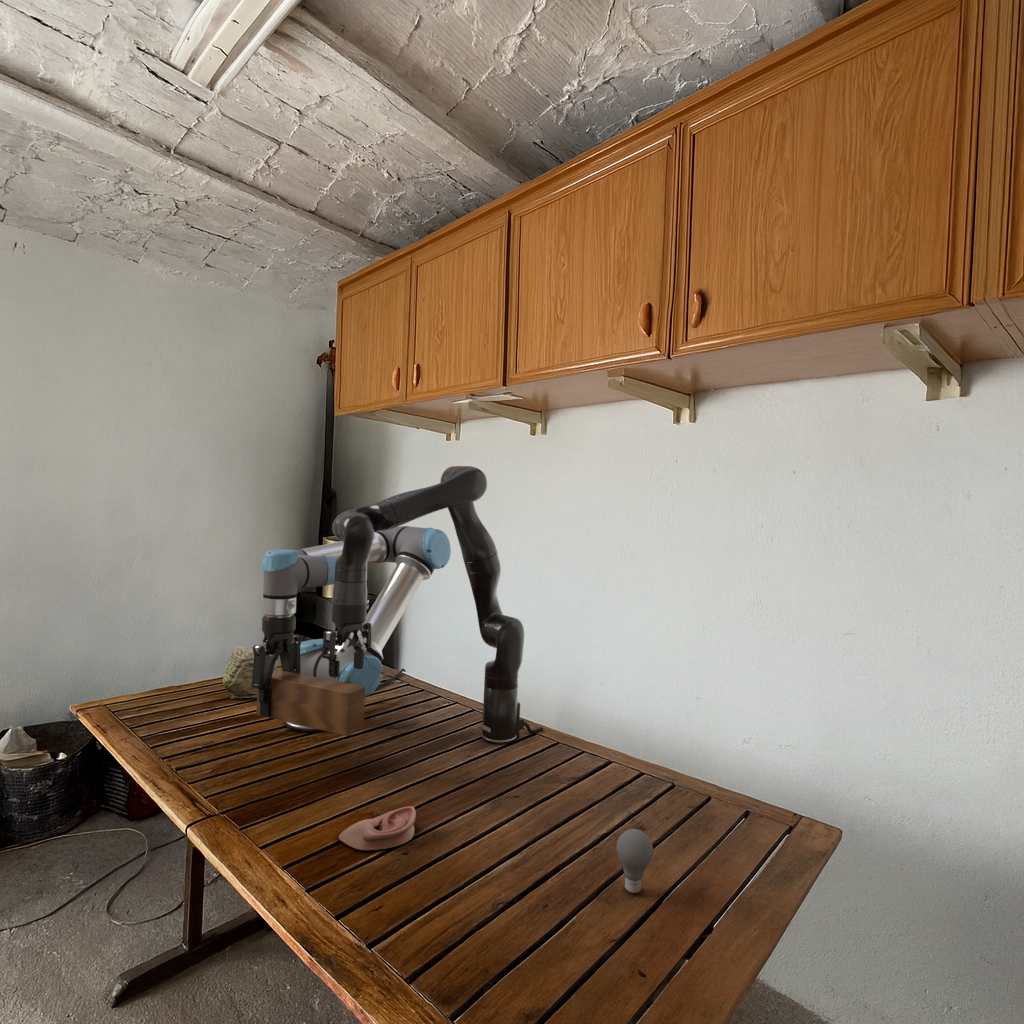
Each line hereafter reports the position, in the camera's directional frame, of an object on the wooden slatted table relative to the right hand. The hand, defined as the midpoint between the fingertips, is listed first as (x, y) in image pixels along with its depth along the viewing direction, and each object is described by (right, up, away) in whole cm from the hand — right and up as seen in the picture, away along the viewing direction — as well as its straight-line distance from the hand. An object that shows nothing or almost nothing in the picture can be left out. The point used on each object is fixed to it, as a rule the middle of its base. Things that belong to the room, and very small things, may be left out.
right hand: (346, 672), depth 142 cm
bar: (-10, -12, +4) cm, 16 cm away
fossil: (-43, -21, +56) cm, 74 cm away
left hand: (-19, -11, +8) cm, 24 cm away
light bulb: (+57, -27, -37) cm, 73 cm away
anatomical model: (+12, -25, -23) cm, 36 cm away
